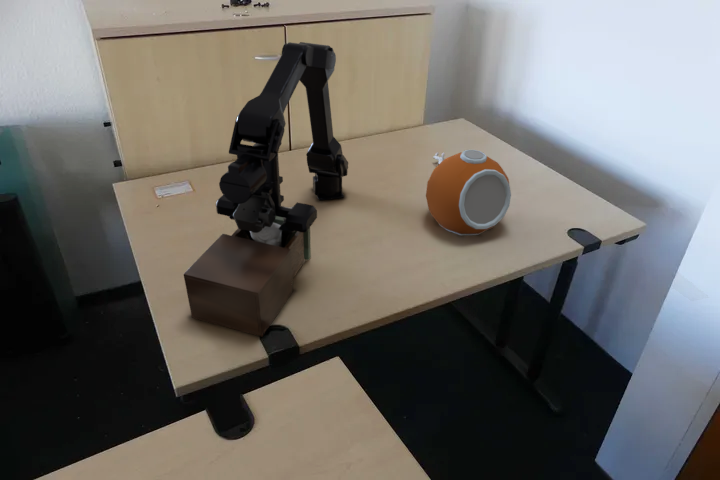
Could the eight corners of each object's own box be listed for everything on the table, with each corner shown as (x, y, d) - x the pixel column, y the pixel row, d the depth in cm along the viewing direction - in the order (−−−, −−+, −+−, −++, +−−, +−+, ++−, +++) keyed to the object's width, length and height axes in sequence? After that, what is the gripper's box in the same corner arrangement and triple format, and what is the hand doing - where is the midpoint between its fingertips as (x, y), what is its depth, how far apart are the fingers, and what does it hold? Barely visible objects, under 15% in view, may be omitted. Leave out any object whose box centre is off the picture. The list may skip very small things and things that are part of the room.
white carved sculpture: (247, 247, 109) (244, 218, 105) (279, 238, 112) (277, 209, 108) (258, 263, 105) (255, 234, 101) (291, 253, 108) (290, 224, 104)
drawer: (264, 233, 120) (261, 199, 115) (319, 245, 117) (318, 211, 112) (226, 277, 107) (221, 242, 102) (286, 293, 104) (284, 257, 99)
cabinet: (228, 275, 109) (222, 233, 103) (293, 291, 106) (291, 249, 100) (191, 317, 99) (183, 273, 93) (262, 337, 95) (258, 292, 89)
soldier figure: (450, 165, 155) (472, 171, 144) (440, 178, 155) (461, 185, 144) (433, 147, 151) (454, 152, 140) (422, 161, 151) (442, 167, 140)
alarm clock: (447, 249, 119) (458, 180, 109) (410, 210, 132) (417, 145, 122) (518, 232, 125) (535, 165, 115) (476, 196, 138) (488, 133, 128)
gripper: (194, 187, 95) (206, 258, 104) (292, 208, 90) (295, 280, 99) (226, 160, 103) (234, 228, 112) (317, 178, 99) (318, 247, 108)
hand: (269, 245), depth 108 cm, fingers closed on white carved sculpture, 6 cm apart
